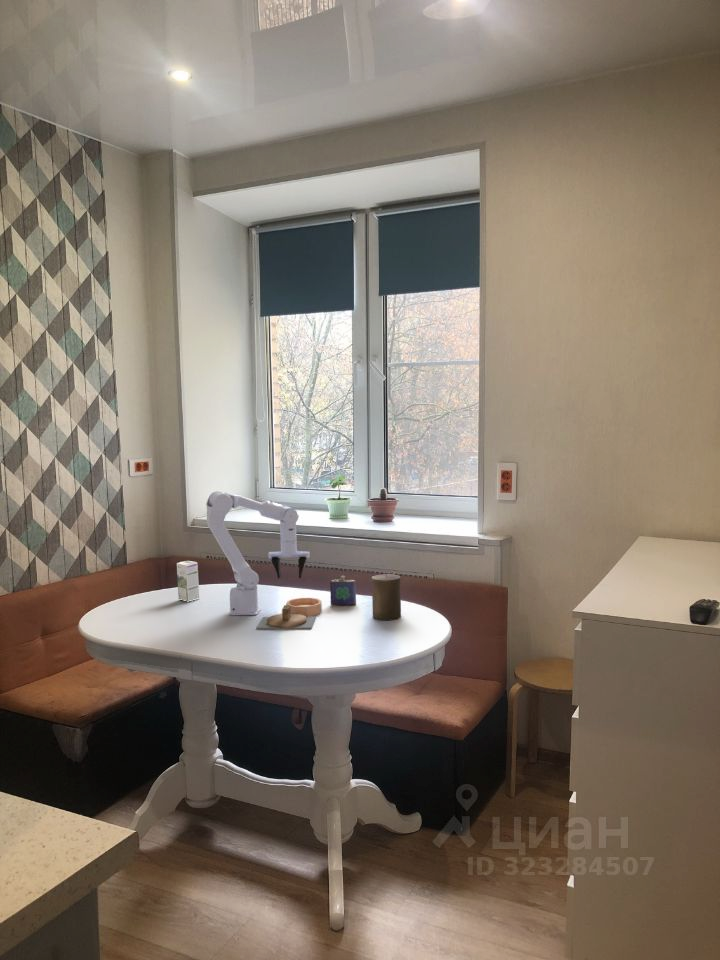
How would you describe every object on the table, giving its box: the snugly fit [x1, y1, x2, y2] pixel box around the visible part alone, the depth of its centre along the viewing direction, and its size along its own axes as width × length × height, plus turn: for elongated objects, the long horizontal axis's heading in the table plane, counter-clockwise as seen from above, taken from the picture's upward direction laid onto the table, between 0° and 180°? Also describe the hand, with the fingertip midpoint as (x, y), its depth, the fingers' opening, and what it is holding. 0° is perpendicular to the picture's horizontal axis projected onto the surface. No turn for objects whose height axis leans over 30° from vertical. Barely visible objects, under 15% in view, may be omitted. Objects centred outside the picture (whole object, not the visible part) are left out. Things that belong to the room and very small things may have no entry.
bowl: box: [285, 597, 323, 617], centre depth 255 cm, size 12×12×4 cm
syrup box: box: [176, 560, 200, 601], centre depth 274 cm, size 6×6×14 cm
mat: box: [255, 616, 317, 630], centre depth 241 cm, size 18×12×1 cm, turn 87°
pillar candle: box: [371, 573, 402, 621], centre depth 246 cm, size 10×10×15 cm
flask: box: [329, 575, 357, 607], centre depth 262 cm, size 9×3×11 cm, turn 87°
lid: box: [267, 604, 306, 628], centre depth 241 cm, size 13×13×5 cm
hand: (289, 577), depth 262 cm, fingers open, 7 cm apart
